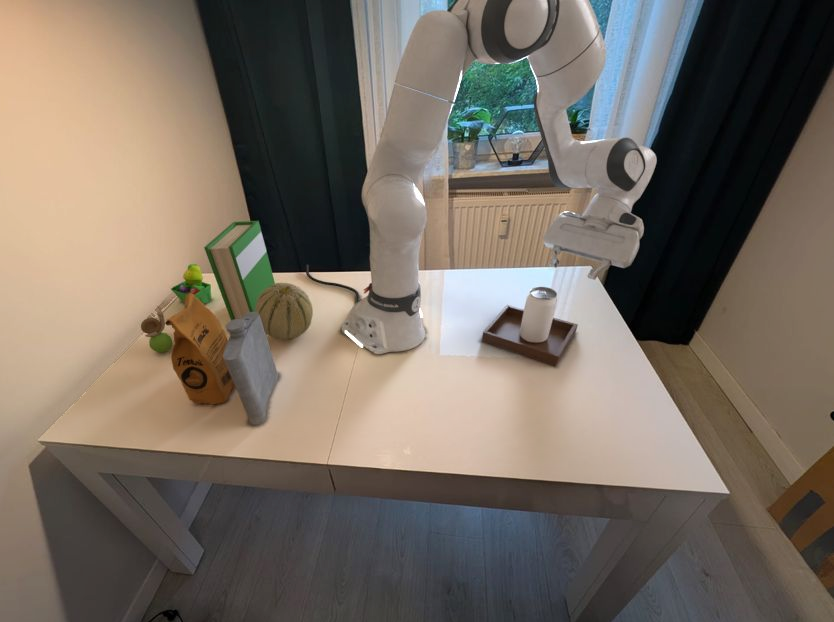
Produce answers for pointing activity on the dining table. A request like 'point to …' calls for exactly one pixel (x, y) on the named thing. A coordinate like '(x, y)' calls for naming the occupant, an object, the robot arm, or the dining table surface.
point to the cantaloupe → (284, 311)
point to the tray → (508, 337)
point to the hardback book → (240, 266)
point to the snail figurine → (157, 333)
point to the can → (538, 314)
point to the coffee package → (200, 353)
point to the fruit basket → (193, 285)
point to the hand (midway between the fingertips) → (570, 271)
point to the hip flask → (250, 364)
